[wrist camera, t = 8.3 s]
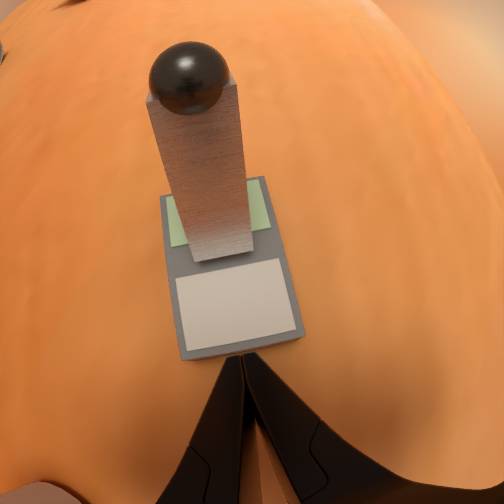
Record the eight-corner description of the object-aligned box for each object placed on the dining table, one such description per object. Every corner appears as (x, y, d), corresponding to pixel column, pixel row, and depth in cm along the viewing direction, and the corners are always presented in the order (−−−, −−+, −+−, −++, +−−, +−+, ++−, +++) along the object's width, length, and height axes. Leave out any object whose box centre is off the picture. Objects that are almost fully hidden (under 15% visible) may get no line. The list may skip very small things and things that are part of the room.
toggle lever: (255, 258, 14) (234, 42, 7) (195, 270, 14) (132, 63, 7) (245, 219, 16) (223, 29, 9) (191, 230, 16) (143, 45, 8)
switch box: (296, 340, 17) (306, 335, 14) (193, 360, 17) (180, 360, 14) (262, 201, 20) (264, 173, 17) (171, 219, 20) (158, 194, 17)
